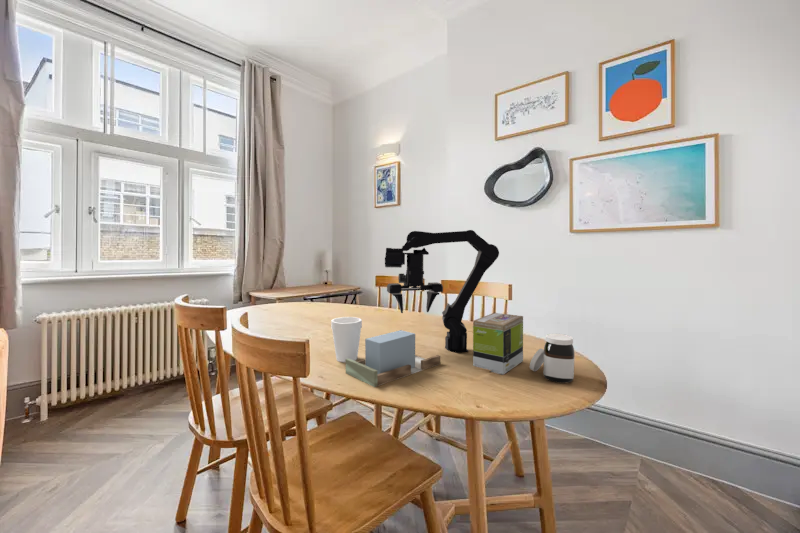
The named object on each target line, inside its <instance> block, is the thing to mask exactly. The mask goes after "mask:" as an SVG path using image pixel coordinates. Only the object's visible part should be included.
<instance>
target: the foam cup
mask: <svg viewBox="0 0 800 533" xmlns="http://www.w3.org/2000/svg"><path fill="white" fill-rule="evenodd" d="M362 320H363V319H361V318H360V317H356V316H341V317H335V318H333V319H331V320H330V324H331V325H330V327H331V330H332V331H331V332H332V338H333V345H334V346H333V347H334V350H335V351H334V352H335V359H336V361H337V362H339V363H346V359H348V358H349V359H351V360H354V361H357V359H358V357H359V356H358V355H359V347H360V340H361V332H362V331H361V330H362V327H363V321H362Z"/></svg>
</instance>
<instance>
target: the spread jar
mask: <svg viewBox="0 0 800 533" xmlns="http://www.w3.org/2000/svg"><path fill="white" fill-rule="evenodd" d="M545 341H546V342H545V343H544V345H543V346H544V347H543V348H539V349H538V350H536V352H535V353H534V354H533V356H532V358H531V360H530V362H529V370H531V371H533V372H537V371H538V370H539V369H540V368H541V367H542V365H543V367H542V368H543V370H542V372H543V377H544V378H545V379H546V380H548V381H550V382H553V383H557V384H558V383H559V384H567V383H571V382H573V381H574V376H575V357H576V356H575V348H574V337H573V336H571V335H567V334H562V333H549V334H546V335H545Z"/></svg>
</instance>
